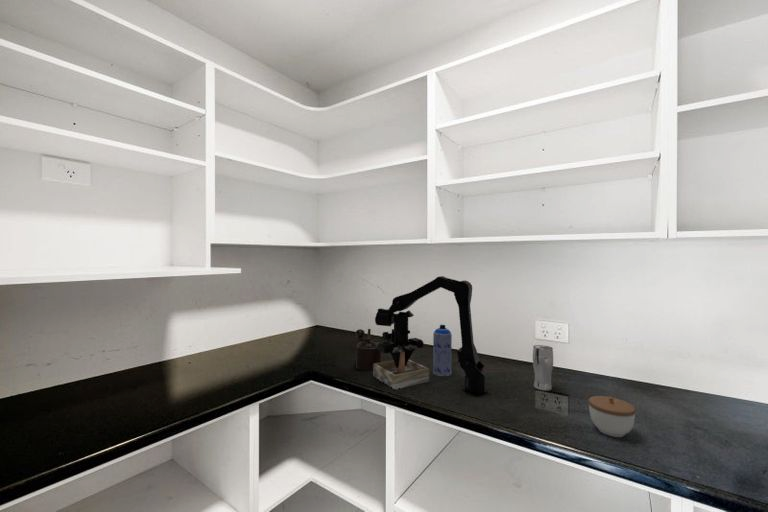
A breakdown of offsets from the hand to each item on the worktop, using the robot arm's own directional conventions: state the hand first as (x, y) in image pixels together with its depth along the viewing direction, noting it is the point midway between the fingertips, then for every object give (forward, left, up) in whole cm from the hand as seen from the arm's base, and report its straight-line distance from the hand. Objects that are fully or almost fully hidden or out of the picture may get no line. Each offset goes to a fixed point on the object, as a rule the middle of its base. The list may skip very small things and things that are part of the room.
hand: (400, 366), depth 132 cm
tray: (0, 0, -5) cm, 5 cm away
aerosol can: (-3, -19, -5) cm, 20 cm away
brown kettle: (+18, +5, -5) cm, 19 cm away
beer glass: (-34, -41, -5) cm, 53 cm away
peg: (0, 0, -3) cm, 3 cm away
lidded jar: (-63, -28, -5) cm, 69 cm away
